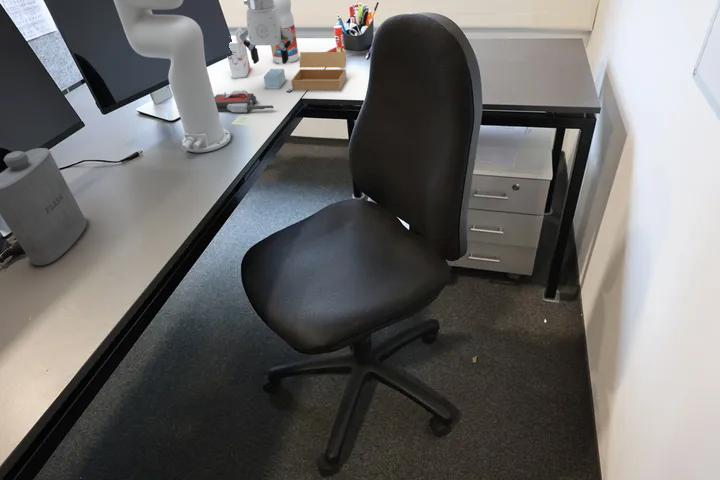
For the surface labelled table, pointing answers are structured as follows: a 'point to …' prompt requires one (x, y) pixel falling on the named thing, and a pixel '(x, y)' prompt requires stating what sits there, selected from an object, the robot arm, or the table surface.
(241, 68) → the ink cartridge box
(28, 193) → the flask
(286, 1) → the fruit juice
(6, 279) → the table surface
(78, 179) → the table surface
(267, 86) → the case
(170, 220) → the table surface
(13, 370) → the table surface
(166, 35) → the robot arm
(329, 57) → the flap
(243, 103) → the toy chainsaw
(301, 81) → the carton
